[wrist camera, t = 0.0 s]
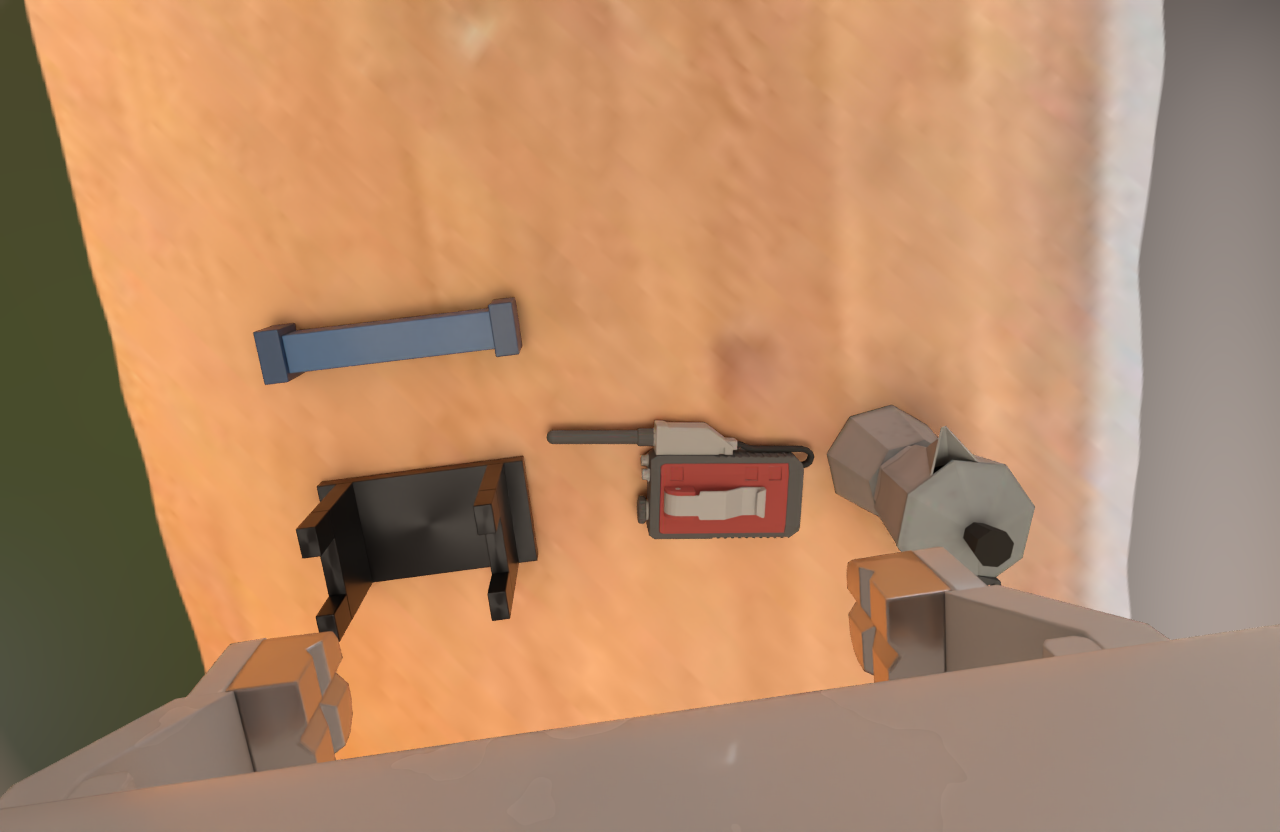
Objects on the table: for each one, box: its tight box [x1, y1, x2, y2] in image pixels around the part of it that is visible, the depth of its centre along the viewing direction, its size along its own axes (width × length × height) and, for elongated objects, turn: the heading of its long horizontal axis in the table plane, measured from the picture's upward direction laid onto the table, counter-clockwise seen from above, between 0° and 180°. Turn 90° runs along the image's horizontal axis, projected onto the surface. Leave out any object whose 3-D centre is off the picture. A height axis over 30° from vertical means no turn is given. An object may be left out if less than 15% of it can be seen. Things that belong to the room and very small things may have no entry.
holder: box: [296, 456, 538, 642], centre depth 57 cm, size 8×15×10 cm, turn 96°
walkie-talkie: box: [547, 420, 814, 539], centre depth 61 cm, size 9×4×20 cm
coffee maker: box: [827, 405, 1035, 586], centre depth 56 cm, size 15×9×18 cm, turn 15°
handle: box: [253, 297, 522, 385], centre depth 57 cm, size 4×17×4 cm, turn 96°
